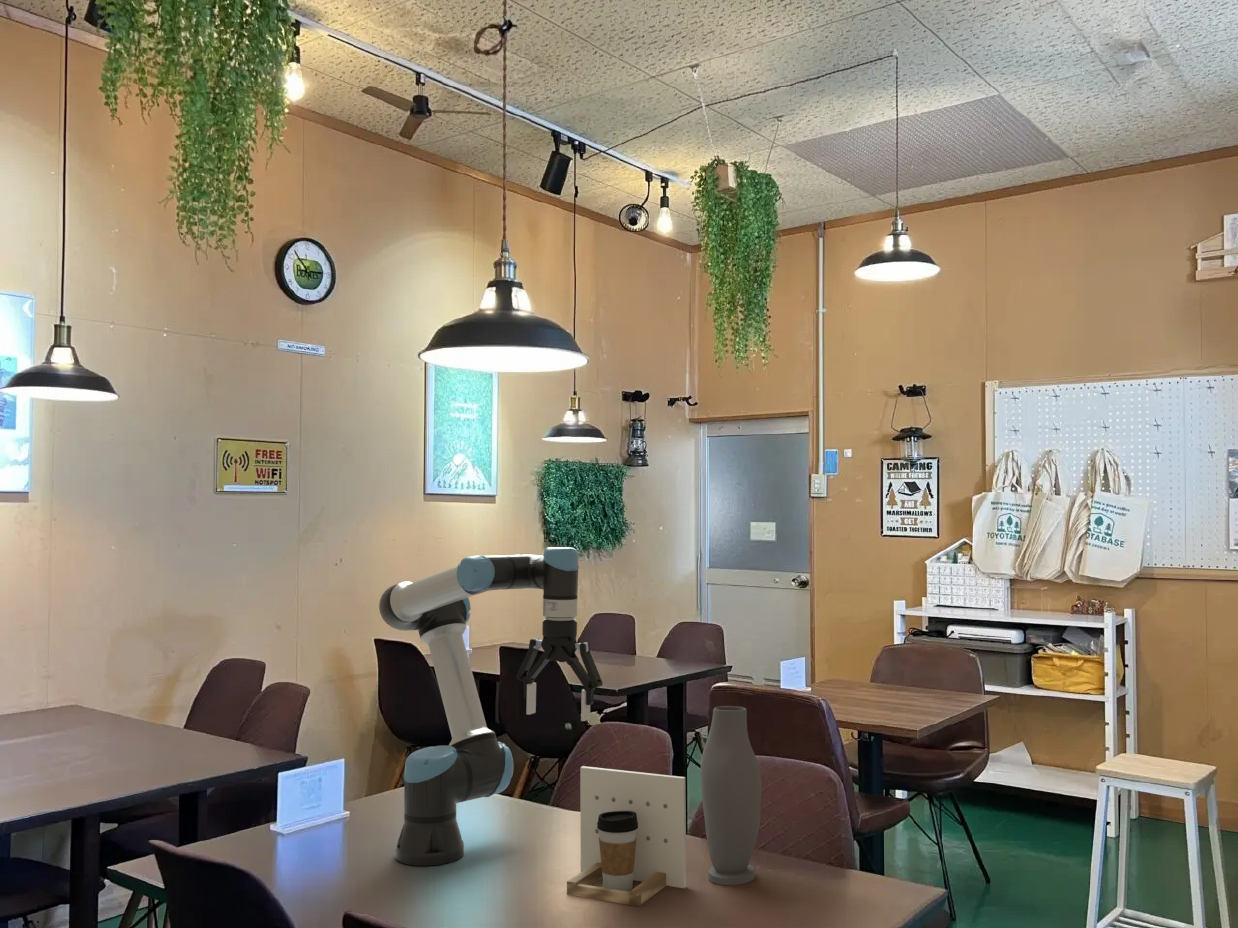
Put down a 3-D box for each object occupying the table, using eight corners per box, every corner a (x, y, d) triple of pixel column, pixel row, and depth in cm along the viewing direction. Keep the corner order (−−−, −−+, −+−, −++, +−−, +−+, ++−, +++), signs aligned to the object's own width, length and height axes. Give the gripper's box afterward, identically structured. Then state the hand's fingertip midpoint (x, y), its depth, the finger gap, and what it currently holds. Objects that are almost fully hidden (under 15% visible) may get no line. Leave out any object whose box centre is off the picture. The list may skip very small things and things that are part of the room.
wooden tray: (566, 893, 206) (566, 881, 206) (597, 874, 217) (597, 862, 217) (638, 906, 198) (638, 892, 199) (666, 885, 210) (666, 872, 210)
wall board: (580, 871, 219) (580, 767, 221) (583, 869, 220) (583, 766, 222) (684, 888, 208) (682, 778, 210) (686, 886, 210) (685, 777, 211)
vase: (744, 891, 206) (743, 714, 210) (688, 880, 213) (687, 709, 216) (771, 874, 217) (769, 706, 221) (716, 864, 224) (715, 702, 228)
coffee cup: (634, 897, 203) (634, 820, 204) (593, 894, 205) (592, 818, 206) (641, 882, 212) (641, 809, 213) (602, 880, 213) (601, 807, 214)
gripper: (502, 616, 225) (499, 713, 224) (603, 623, 214) (601, 725, 213) (520, 613, 232) (518, 708, 231) (618, 620, 221) (617, 719, 220)
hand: (557, 716), depth 222 cm, fingers open, 13 cm apart
